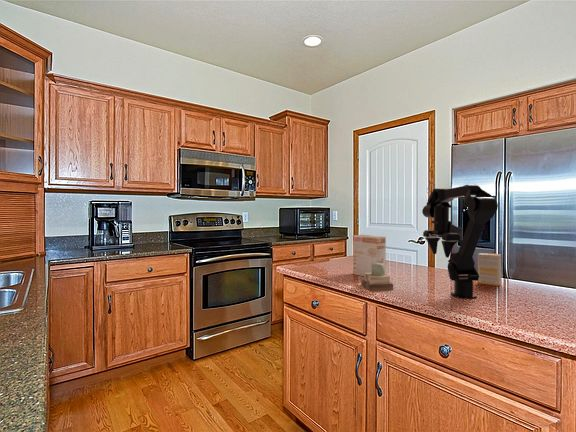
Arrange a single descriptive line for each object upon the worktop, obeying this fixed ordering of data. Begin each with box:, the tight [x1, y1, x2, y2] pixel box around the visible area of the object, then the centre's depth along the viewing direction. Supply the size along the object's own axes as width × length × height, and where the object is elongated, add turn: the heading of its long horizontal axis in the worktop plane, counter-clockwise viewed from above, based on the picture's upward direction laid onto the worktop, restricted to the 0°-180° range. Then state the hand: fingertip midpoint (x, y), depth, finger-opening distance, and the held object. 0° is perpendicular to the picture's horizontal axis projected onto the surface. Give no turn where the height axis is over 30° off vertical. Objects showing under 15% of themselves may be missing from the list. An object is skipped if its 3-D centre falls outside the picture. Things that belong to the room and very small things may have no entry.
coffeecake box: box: [352, 234, 387, 277], centre depth 163 cm, size 15×7×20 cm, turn 35°
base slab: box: [360, 278, 394, 292], centre depth 141 cm, size 10×10×3 cm
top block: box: [363, 273, 391, 284], centre depth 140 cm, size 8×8×3 cm
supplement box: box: [477, 252, 502, 287], centre depth 144 cm, size 8×5×13 cm, turn 47°
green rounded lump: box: [372, 263, 384, 276], centre depth 140 cm, size 5×5×4 cm
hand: (440, 255), depth 141 cm, fingers open, 9 cm apart
